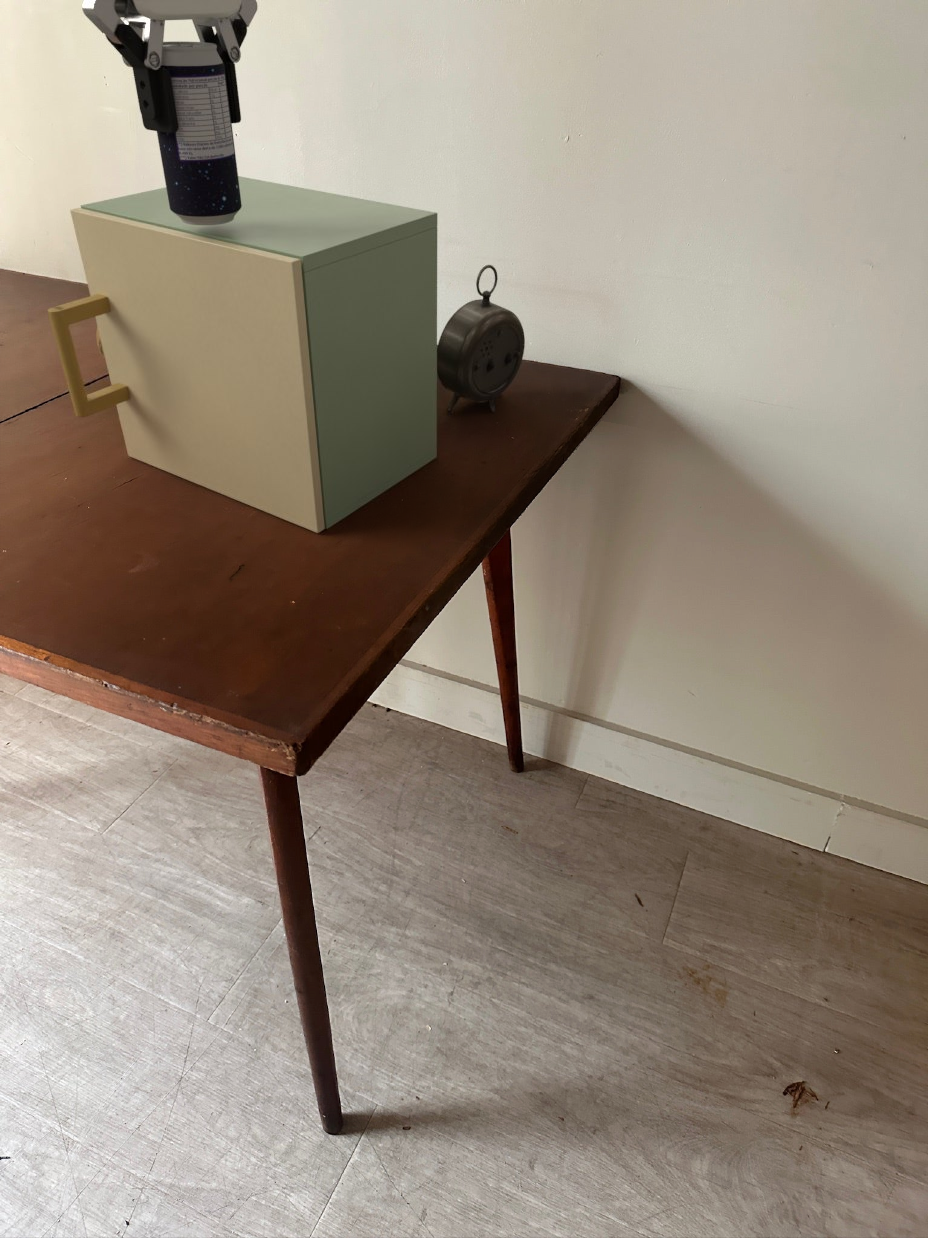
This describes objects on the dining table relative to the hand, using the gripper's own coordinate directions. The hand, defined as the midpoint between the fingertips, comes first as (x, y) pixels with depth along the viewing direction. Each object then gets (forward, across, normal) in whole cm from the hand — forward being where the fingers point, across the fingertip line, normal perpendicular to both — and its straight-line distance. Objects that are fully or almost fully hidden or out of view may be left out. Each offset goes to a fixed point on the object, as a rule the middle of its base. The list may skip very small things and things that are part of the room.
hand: (193, 122), depth 67 cm
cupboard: (+32, -8, -2) cm, 33 cm away
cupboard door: (+32, +5, -2) cm, 32 cm away
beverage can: (+7, 0, 0) cm, 7 cm away
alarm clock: (+32, -31, +8) cm, 45 cm away
